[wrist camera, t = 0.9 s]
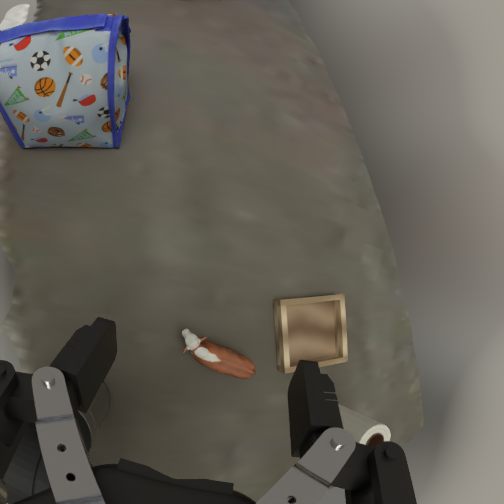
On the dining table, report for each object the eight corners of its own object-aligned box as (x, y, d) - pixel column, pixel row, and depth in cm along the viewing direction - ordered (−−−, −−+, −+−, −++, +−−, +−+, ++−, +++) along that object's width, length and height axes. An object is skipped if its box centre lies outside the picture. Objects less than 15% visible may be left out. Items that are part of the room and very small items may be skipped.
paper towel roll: (289, 405, 54) (352, 445, 34) (314, 386, 56) (383, 416, 36) (307, 429, 54) (369, 472, 34) (330, 411, 56) (398, 445, 36)
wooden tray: (338, 358, 59) (347, 361, 55) (277, 369, 55) (285, 373, 51) (334, 294, 60) (344, 293, 57) (273, 300, 57) (280, 299, 53)
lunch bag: (136, 85, 56) (138, -16, 30) (125, 152, 53) (112, 52, 28) (40, 90, 49) (8, 3, 24) (20, 156, 47) (-37, 76, 21)
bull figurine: (183, 321, 52) (187, 325, 44) (250, 358, 54) (264, 367, 46) (171, 343, 50) (173, 350, 43) (238, 379, 53) (251, 391, 45)
